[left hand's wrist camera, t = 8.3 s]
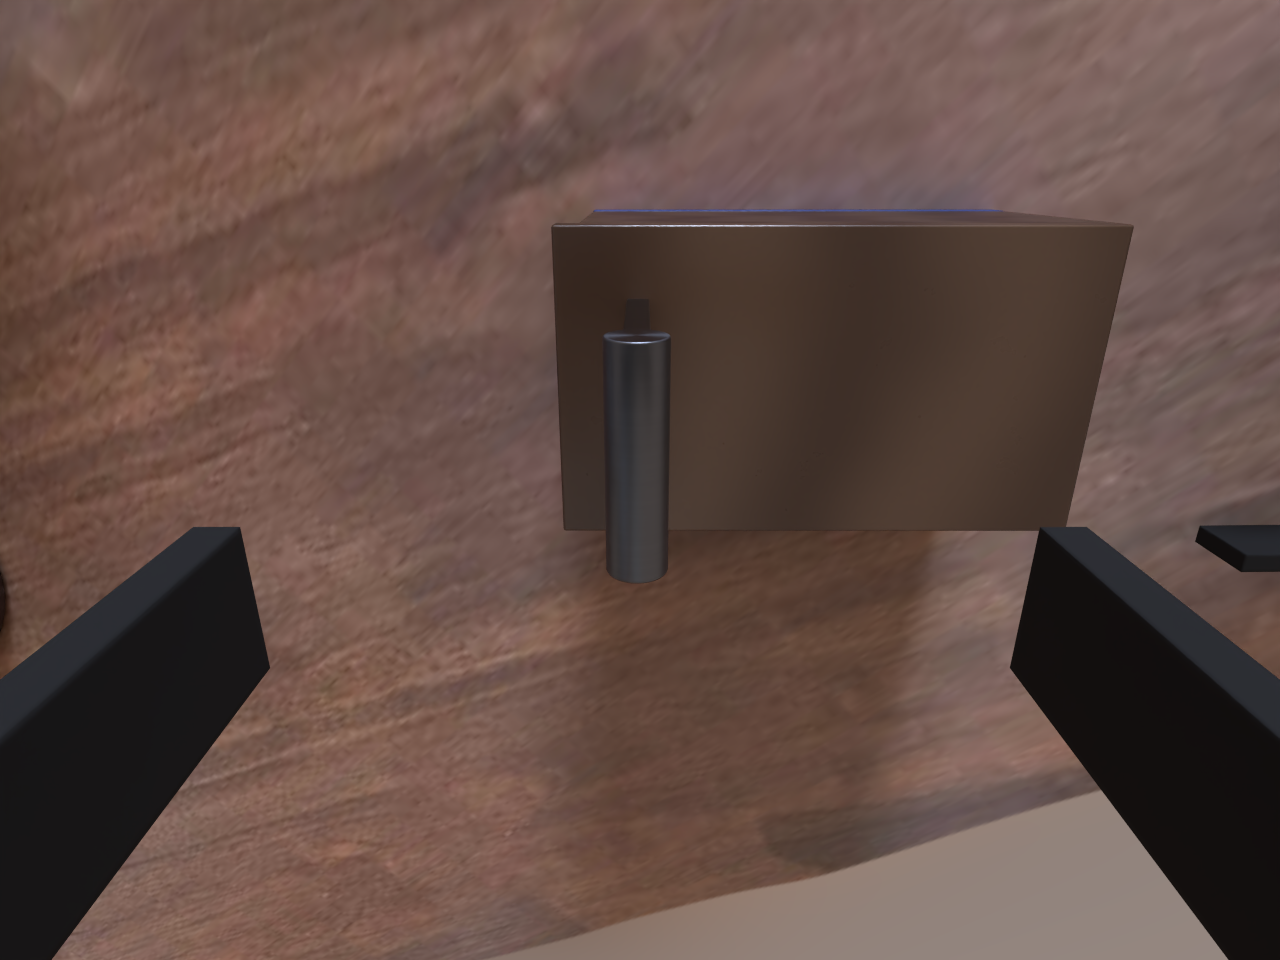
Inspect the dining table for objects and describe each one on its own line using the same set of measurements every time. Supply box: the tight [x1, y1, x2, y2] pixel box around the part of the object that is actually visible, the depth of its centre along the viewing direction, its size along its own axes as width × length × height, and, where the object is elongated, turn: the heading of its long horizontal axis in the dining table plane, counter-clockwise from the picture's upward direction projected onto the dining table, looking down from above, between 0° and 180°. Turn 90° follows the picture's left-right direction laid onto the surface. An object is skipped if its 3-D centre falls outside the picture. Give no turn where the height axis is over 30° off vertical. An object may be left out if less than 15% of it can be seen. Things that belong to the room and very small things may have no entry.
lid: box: [551, 223, 1134, 583], centre depth 22 cm, size 18×10×8 cm, turn 90°
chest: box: [580, 210, 1112, 223], centre depth 31 cm, size 17×10×9 cm, turn 90°
